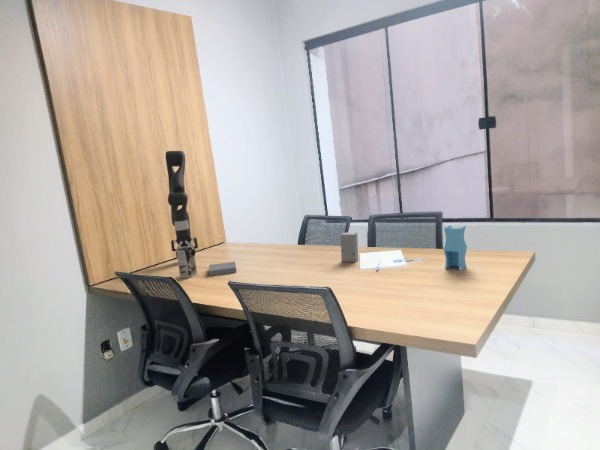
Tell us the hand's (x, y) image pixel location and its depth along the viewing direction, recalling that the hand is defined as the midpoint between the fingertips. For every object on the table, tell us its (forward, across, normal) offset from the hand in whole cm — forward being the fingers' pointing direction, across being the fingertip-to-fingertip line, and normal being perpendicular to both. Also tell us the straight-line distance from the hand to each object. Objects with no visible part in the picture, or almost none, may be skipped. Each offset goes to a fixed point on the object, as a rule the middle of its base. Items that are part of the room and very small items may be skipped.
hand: (186, 256), depth 233 cm
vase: (+11, -130, +59) cm, 143 cm away
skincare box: (+11, -90, +18) cm, 93 cm away
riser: (+11, -19, 0) cm, 22 cm away
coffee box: (+11, 0, 0) cm, 11 cm away
